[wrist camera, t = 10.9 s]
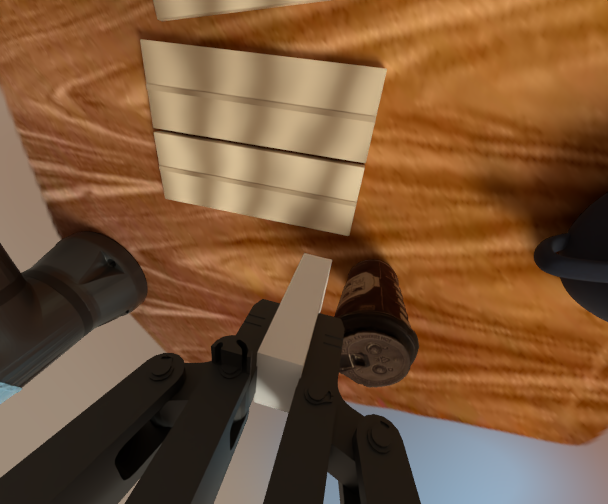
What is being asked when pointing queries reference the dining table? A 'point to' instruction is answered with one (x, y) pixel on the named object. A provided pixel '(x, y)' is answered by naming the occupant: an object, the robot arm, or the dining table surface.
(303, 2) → the plank
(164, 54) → the laid board
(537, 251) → the teapot
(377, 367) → the coffee cup
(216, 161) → the plank
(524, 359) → the dining table surface
